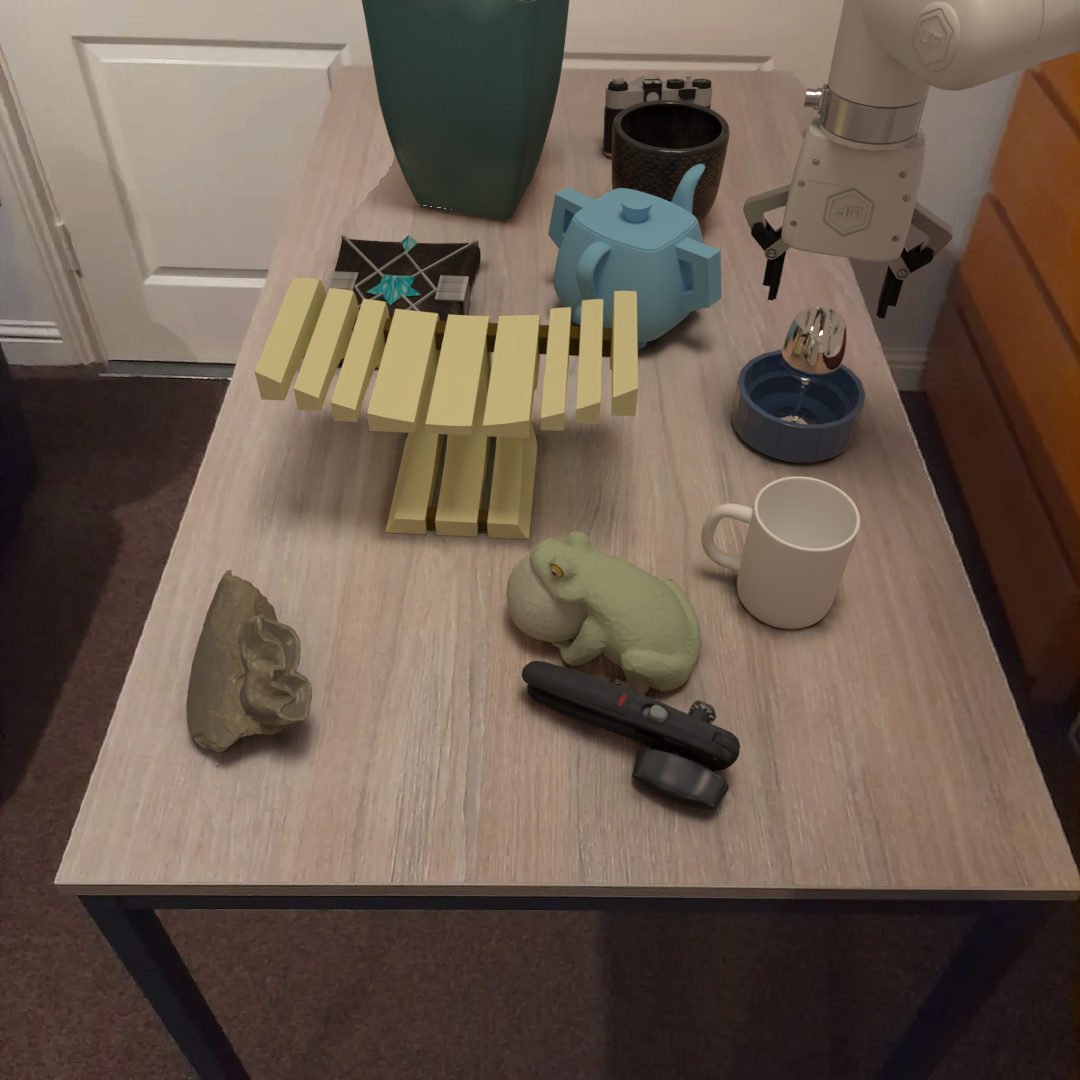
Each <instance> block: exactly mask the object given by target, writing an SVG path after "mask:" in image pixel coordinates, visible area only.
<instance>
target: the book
mask: <svg viewBox="0 0 1080 1080" xmlns="http://www.w3.org/2000/svg"><path fill="white" fill-rule="evenodd" d="M340 238H341V242H340V247H339V250H338V251H339V252H338V256H337V260H336V264H335V267H334V270H330V271H329V273H328V276H327V279H326V282H325V284H324V289H325V292H326V296H327V294H328V291H329V288H336V289H344V290H350V291H354V293H355V296H356V299H357V303H358V309H359V311H360V308H361V305H362V301H363V299H370V300H377V301H383V302H386V303H387V307H388V311H389V317H390V319H393V316H394V312H395V309H403V310H412V311H420V312H429V313H438V315H439V321H447V318H448V314H451V315H467V316H469V311H470V308H471V307H470V306H471V293H470V291H471V287H472V285H473V282H474V279H475V275H476V273H477V271H478V268H479V267H480V266H481V259H482V255H481V248H480V247H479V245H480V244H479V239H475V240H473V241H471V242H438V243H437V242H435V243H432V242H418V241H417V240H416V239H414V238H413V236H411V234H408V235H407V236H406V237H405V238H404V239H403V240H401V241H381V240H370V239H369V240H368V239H367V240H366V239H355V238H348V237H347V236H346V235H345V234H341V235H340ZM343 362H344V359H341V361H340V362H339V364H343Z"/></svg>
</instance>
